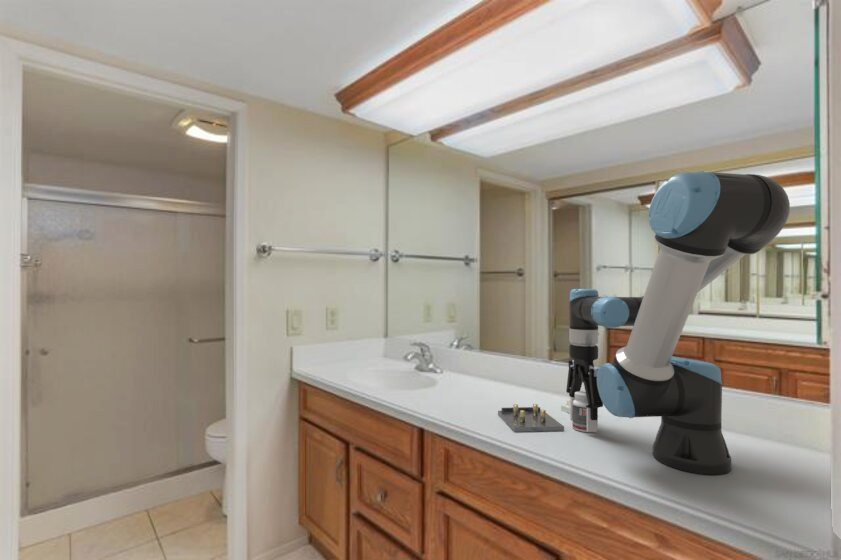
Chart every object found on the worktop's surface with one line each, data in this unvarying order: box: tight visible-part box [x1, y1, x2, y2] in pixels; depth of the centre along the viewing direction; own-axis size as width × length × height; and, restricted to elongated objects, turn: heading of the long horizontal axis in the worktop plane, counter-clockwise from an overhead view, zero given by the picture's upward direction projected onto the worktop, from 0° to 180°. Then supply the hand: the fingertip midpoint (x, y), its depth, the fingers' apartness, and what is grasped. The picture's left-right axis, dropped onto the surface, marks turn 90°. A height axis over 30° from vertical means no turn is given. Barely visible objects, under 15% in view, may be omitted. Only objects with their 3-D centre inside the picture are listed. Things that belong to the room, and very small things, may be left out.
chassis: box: [497, 403, 565, 433], centre depth 125 cm, size 16×14×4 cm
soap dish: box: [560, 399, 570, 414], centre depth 135 cm, size 9×6×3 cm, turn 26°
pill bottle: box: [572, 390, 588, 433], centre depth 119 cm, size 6×6×10 cm
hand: (583, 425), depth 119 cm, fingers open, 9 cm apart
